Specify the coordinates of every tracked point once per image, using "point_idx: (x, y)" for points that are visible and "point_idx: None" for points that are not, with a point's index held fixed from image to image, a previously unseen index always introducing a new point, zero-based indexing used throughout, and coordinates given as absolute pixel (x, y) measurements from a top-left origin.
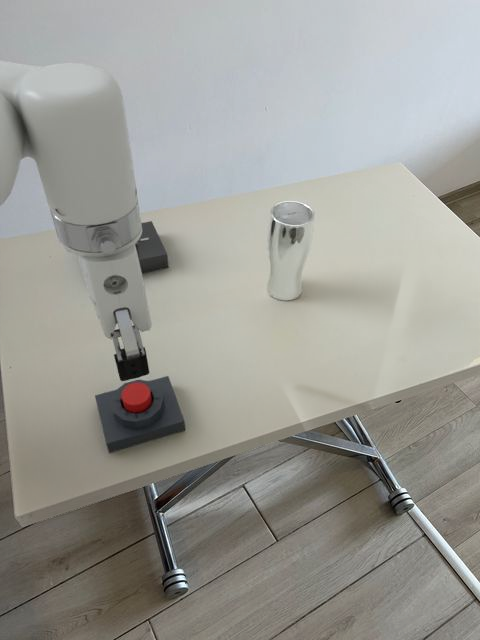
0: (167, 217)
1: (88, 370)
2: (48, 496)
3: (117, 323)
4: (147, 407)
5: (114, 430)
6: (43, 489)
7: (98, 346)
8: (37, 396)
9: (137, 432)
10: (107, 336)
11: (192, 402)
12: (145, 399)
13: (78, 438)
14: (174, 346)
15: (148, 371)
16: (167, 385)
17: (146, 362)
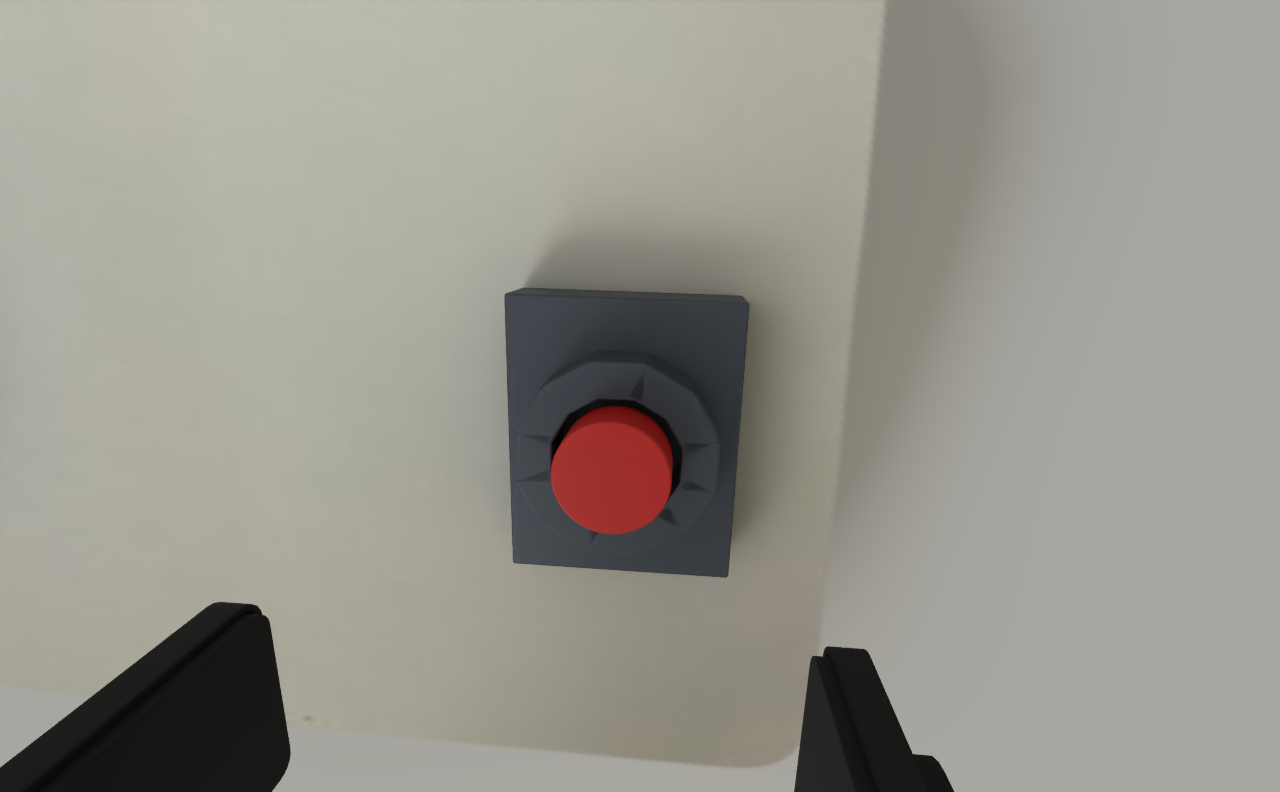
0: None
1: (374, 528)
2: (790, 714)
3: (281, 696)
4: (664, 435)
5: (685, 543)
6: (762, 720)
7: (272, 474)
8: (439, 677)
9: (725, 477)
10: None
11: (630, 228)
12: (655, 452)
13: (634, 611)
14: (331, 206)
15: (873, 669)
16: (553, 312)
17: (911, 769)
